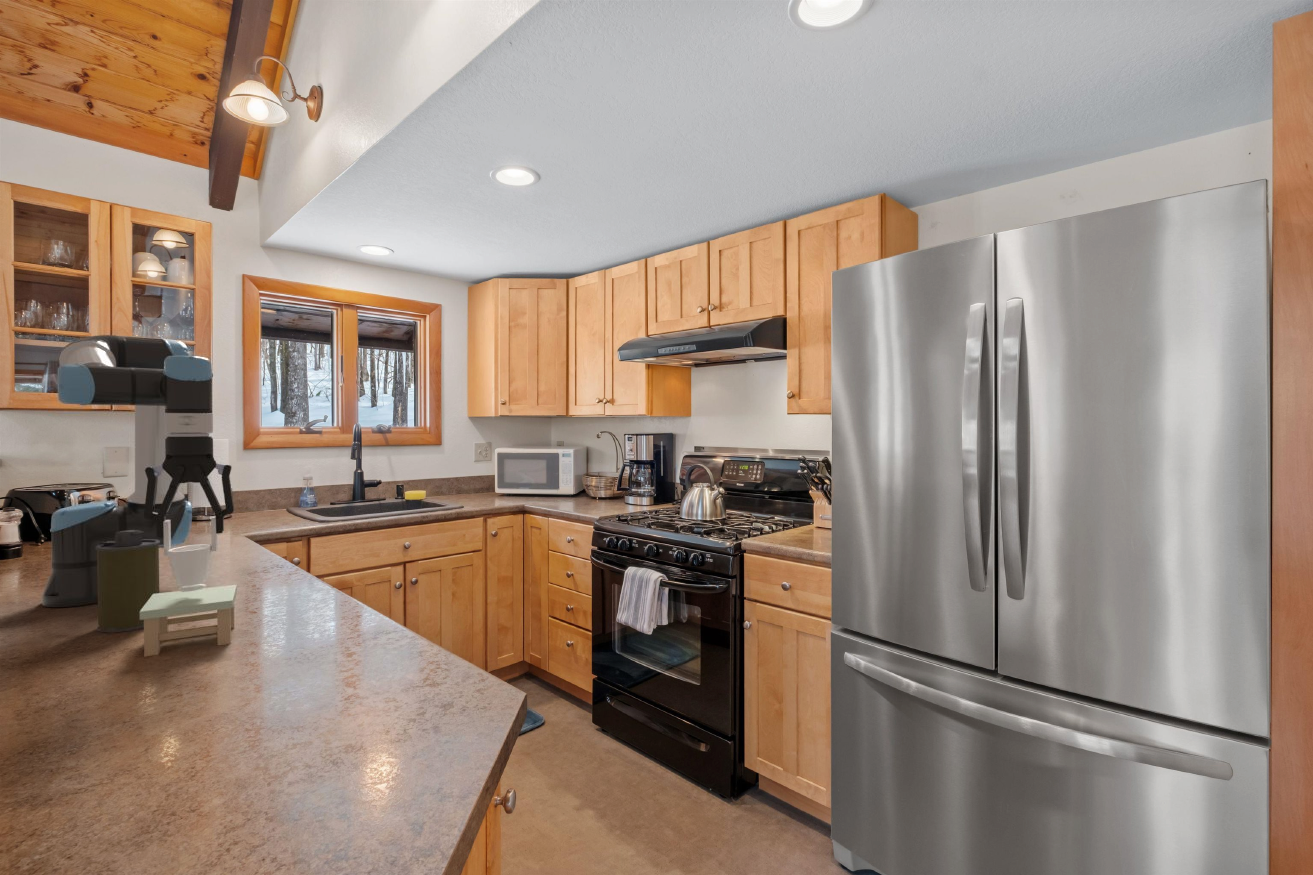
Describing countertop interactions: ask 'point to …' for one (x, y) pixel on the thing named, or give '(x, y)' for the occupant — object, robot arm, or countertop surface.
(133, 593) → the canister
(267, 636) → the countertop surface
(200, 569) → the cup
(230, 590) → the stool
